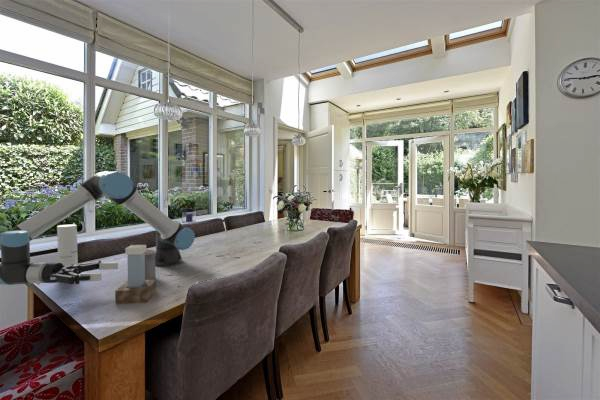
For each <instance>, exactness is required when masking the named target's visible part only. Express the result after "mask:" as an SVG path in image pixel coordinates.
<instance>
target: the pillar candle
mask: <svg viewBox="0 0 600 400" xmlns="http://www.w3.org/2000/svg"><path fill="white" fill-rule="evenodd" d="M155 252H156V250H154V249H146V251H145V280H156V266H155Z"/></svg>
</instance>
